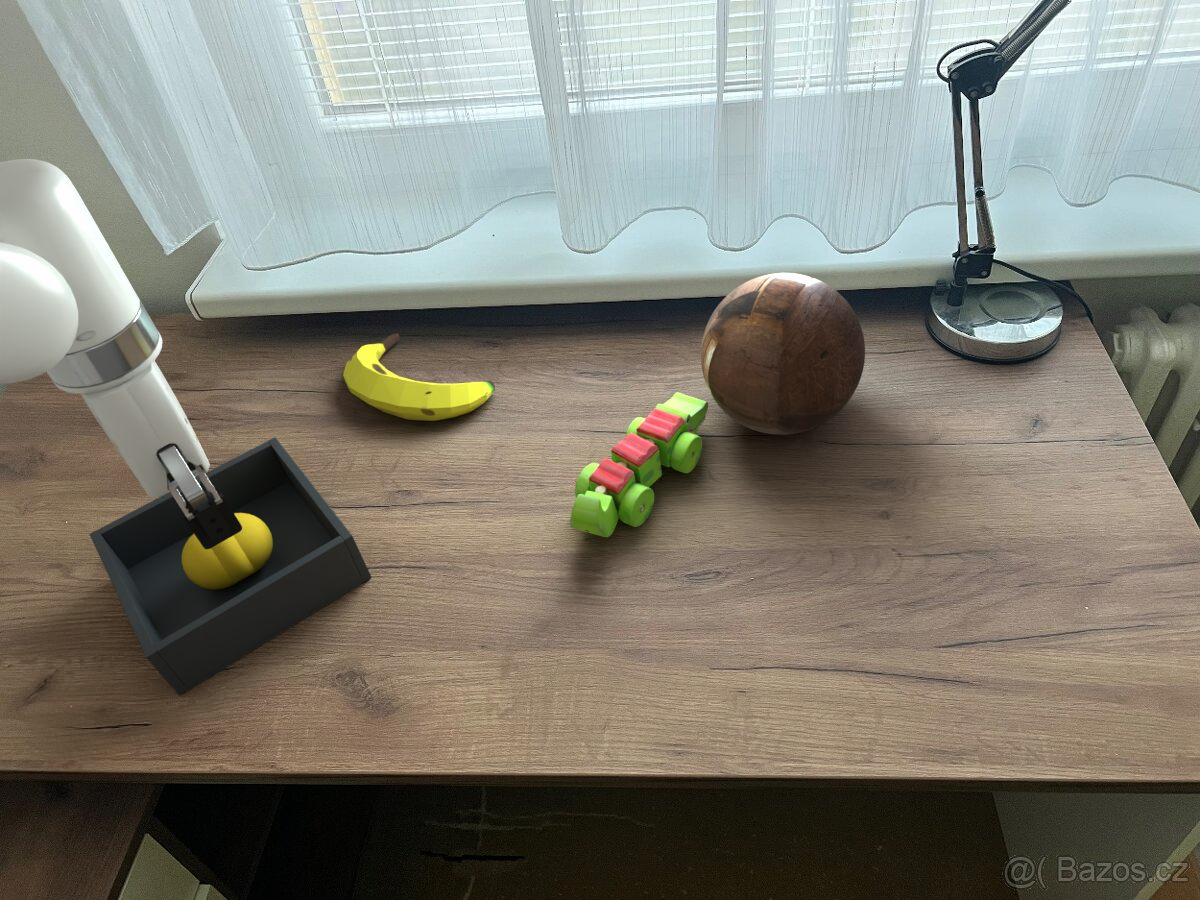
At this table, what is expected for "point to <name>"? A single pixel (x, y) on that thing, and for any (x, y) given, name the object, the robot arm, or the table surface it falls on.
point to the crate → (251, 606)
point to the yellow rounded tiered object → (229, 555)
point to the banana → (409, 388)
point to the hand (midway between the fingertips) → (202, 504)
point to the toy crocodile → (638, 466)
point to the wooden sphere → (782, 353)
